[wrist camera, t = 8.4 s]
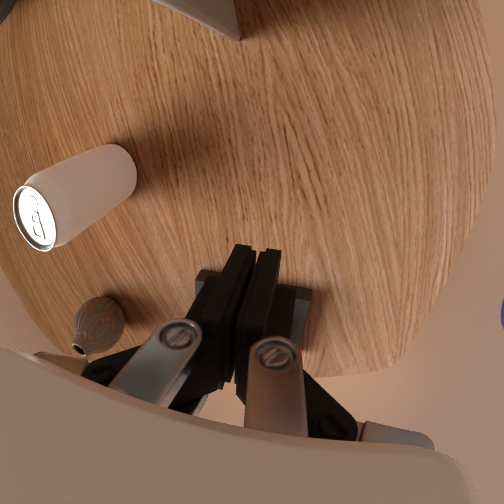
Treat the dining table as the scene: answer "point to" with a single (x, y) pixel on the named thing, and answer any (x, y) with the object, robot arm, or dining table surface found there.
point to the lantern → (5, 8)
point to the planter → (209, 14)
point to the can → (73, 195)
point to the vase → (97, 326)
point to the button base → (299, 310)
